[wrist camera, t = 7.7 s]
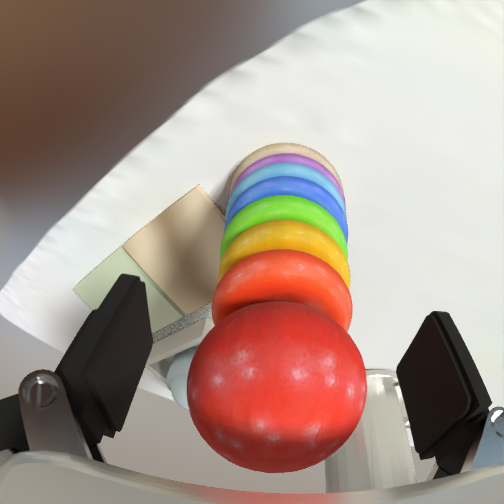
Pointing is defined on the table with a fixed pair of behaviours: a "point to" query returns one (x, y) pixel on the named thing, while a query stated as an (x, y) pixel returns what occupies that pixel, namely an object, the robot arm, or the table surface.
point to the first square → (182, 249)
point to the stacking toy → (280, 319)
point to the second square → (106, 275)
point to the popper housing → (176, 346)
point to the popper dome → (180, 376)
